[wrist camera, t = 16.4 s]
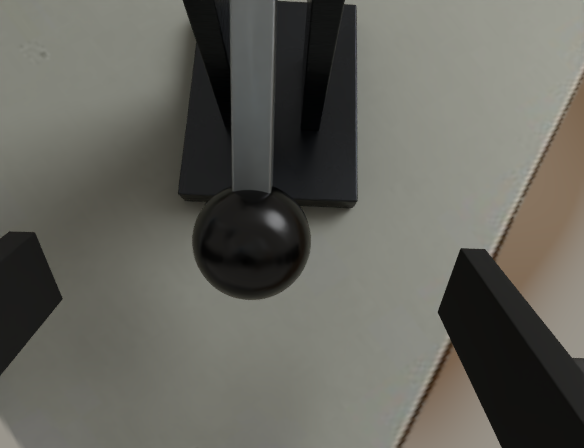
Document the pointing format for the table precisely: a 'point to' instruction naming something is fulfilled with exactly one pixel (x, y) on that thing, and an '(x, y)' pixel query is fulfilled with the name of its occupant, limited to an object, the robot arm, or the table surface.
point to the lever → (252, 176)
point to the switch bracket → (279, 103)
